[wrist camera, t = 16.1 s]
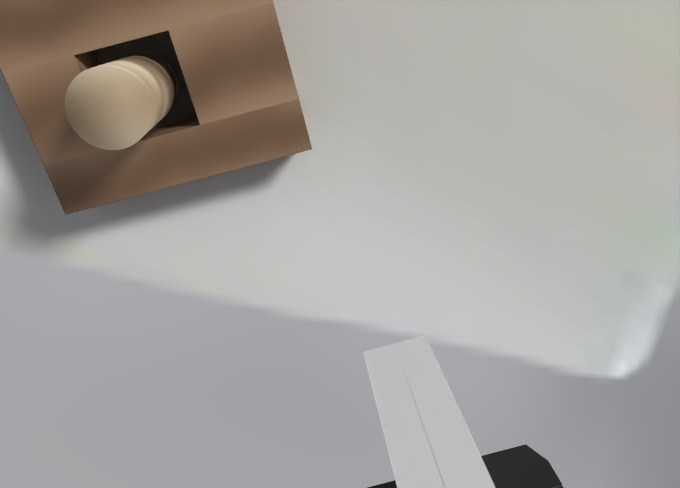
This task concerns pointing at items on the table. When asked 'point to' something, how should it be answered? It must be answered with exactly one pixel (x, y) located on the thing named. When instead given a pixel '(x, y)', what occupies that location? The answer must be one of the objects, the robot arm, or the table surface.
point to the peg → (120, 100)
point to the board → (200, 76)
